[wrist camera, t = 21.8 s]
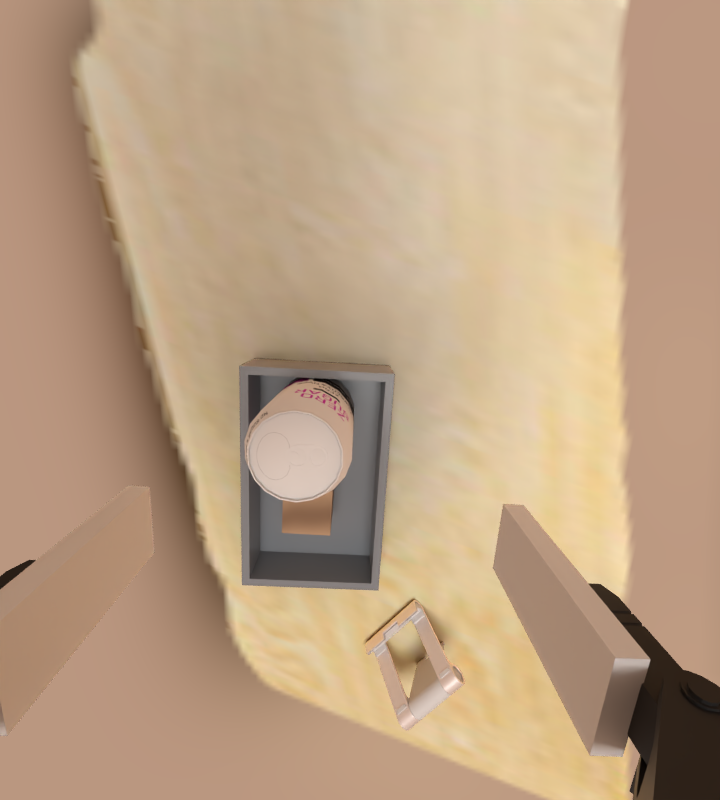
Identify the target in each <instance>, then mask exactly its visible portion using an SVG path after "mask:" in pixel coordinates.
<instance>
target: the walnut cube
mask: <svg viewBox="0 0 720 800" xmlns="http://www.w3.org/2000/svg"><path fill="white" fill-rule="evenodd" d="M333 499H334V490H332V491H330V492H328V493H326V494H324V495H322V496H321V497H319V498H315V499H313V500H309V501H302V502H291V501H285V500H283V511H282V533H292V534H310V535H328V536H330V532H331V523H332V514H333Z"/></svg>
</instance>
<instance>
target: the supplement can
mask: <svg viewBox="0 0 720 800" xmlns="http://www.w3.org/2000/svg"><path fill="white" fill-rule="evenodd" d="M353 427H354V404H353V401H352V398H351V395H350V393H349V391H348V390H347V389H346V388H345V387H344V385H343V384H342V383H341V382H339V381H338V380H336V379H321V378H301V377H298V378H296V379H295V380H293V381H291V382H290V383H289V384H288V385H287V386H286V387H285V388H284V389H283V390H282V391H281V392H280V393H279V394H277V395H276V396H275V397H274V398H273V399H272V400H271V401H270V402H269V403H268V404H267V405H266V406H265V407H264V408H263V409H262V410H261V411H260V412H259V414H258V415H257V416H256V417H255V418H254V420H253V421H252V422H251V423H250V425H249V428H248V431H247V434H246V437H245V440H244V444H245V460H246V462H247V464H248V467H249V469H250V471H251V474H252V476H253V478H254V480H255V481H256V482H257V483H258V484H259V486H260V487H261V488H262V489H263V490H264V491H265V492H267V493H269V494H270V495H272V496H274V497H276V498H278V499H280V500H285V501H291V502H302V501H309V500H313V499H315V498H319V497H321V496H322V495H324V494H326V493H328V492H330V491H332V490H334V488H335V487H336V486H337V485H338V484H339V483H340V482H341V481H342V480H343V479H344V478H345V476H346V474H347V471H348V469H349V466H350V464H351V461H352V447H353Z"/></svg>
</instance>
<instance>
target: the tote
mask: <svg viewBox="0 0 720 800" xmlns="http://www.w3.org/2000/svg"><path fill="white" fill-rule="evenodd" d="M239 373H240V457H241V541H242V585H253V586H279V587H304V588H330V589H355V590H378V588H379V574H380V561H381V548H382V535H383V521H384V508H385V495H386V482H387V468H388V455H389V442H390V429H391V415H392V402H393V389H394V376H395V374H394V372H393V371H392V369H391V367H390V366H388V365H370V364H351V363H332V362H313V361H295V360H276V359H257V358H254V359H252V360H250V361H248V362H246V363H244V364H242V365H240V366H239ZM298 377H301V378H321V379H336V380H338V381H339V382H341V383H342V384H343V385H344V387H345V388H346V389H347V390H348V391H349V393H350V395H351V398H352V401H353V404H354V427H353V447H352V461H351V464H350V466H349V469H348V471H347V474H346V476H345V478H344V479H343V480H342V481H341V482H340V483H339V484H338V485H337V486H336V487H335V488H334V499H333V514H332V523H331V532H330V536H328V535H310V534H292V533H282V511H283V500H280V499H278V498H276V497H274V496H272V495H270V494H269V493H267V492H265V491H264V490H263V489H262V488H261V487H260V486H259V484H258V483H257V482H256V481H255V480H254V478H253V476H252V474H251V471H250V469H249V467H248V464H247V462H246V460H245V444H244V440H245V437H246V434H247V431H248V428H249V425H250V423H251V422H252V421H253V420H254V418H255V417H256V416H257V415H258V414H259V412H260V411H261V410H262V409H263V408H264V407H265V406H266V405H267V404H268V403H269V402H270V401H271V400H272V399H273V398H274V397H275V396H276V395H277V394H279V393H280V392H281V391H282V390H283V389H284V388H285V387H286V386H287V385H288V384H289V383H290V382H291V381H293V380H295V379H296V378H298Z"/></svg>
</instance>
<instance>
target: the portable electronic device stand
mask: <svg viewBox="0 0 720 800" xmlns="http://www.w3.org/2000/svg"><path fill="white" fill-rule="evenodd" d="M411 620H412V622H413V624H414V625H415V627H416V629H417V632H418V634H419V636H420V638H421V641H422V643H423V645H424V647H425V650H426V652H427V654H428V656H429V658H428V659H427V660H426V658H425V657H424V658H423V659H422V660H420V661H419V662H418V664H417V667H416V671H415V675H414V680H413V684H412V688H411V693H410V698H408V697H407V696H406V694H405V692H404V689H403V687H402V684H401V681H400V679H399V676H398V673H397V670H396V668H395V665H394V662H393V660H392V657H391V654H390V651H389V649H388V646H387V643H386V642H387V641H388V640H389V639H390V638H391V637H392V636H394V635H395V634H396V633H397V632H398V631H399V630H400V629H401V628H403V627H404V626H405V625H406V624H407V623H408V622H409V621H411ZM365 647H366V654H368V655H369V654H371V653H372V652H374V653H375V656H376V657H377V660H378V663H379V666H380V669H381V672H382V675H383V678H384V681H385V684H386V687H387V690H388V693H389V696H390V699H391V702H392V705H393V707H394V710H395V713H396V716H397V719H398V722H399V724H400V725H401V727H402V728H403V729H405V730H409V729H410V728H412V727H413V726H414V725H415V724H416V723H418V722H419V721H420V720H421V719H422V718H424V717H425V716H426V715H427V714H429V713H430V712H431V711H432V710H433V709H435V708H436V707H437V706H438V705H440V704H441V703H442V702H443V701H444V700H446V699H447V698H448V697H449V696H450V695H452V694H453V693H454V692H455V691H457V690H458V689H459V688H460V687H461V686H463V685H464V684H465V679H464V676H463V674H462V672H461V671H460V669H459V668H458V667H457V666H456V665H455V664H452V663H451V662H450V661H449V660H448V659H447V657H446V655H445V653H444V651H443V650H444V642H441V643H440V642H439V640H438V638H437V636H436V634H435V632H434V630H433V628H432V626H431V624H430V622H429V619H428V617H427V615H426V613H425V611H424V609H423V607H422V606H421V604H420V603H419V602H418V601H416V600H413V601H412V602H411V603H410V604H409V605H408V606H407V607H406V608H404V609H403V610H402V611H401V612H400V613H399V614H398V615H397V616H395V617H394V618H393V619H392V620H391V621H390V622H389V623H388V624H386V625H385V626H384V627H383V628H382V629H381V630H380V631H379V632H378V633H376V634H375V635H374V636H373V637H372V638H371V639H370V640H369V641H367V642H366V644H365Z"/></svg>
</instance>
